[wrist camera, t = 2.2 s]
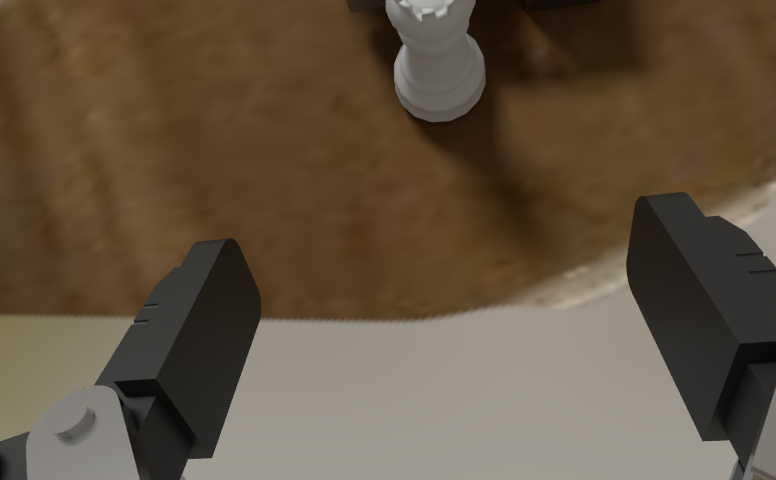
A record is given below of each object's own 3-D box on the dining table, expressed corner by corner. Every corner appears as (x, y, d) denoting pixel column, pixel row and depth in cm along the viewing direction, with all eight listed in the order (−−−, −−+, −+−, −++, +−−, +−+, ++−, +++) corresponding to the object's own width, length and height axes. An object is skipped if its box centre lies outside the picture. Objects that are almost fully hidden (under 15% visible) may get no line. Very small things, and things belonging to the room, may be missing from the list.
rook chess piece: (451, 23, 25) (444, -103, 17) (504, 90, 24) (522, -11, 17) (378, 75, 26) (339, -26, 18) (428, 143, 25) (410, 69, 17)
